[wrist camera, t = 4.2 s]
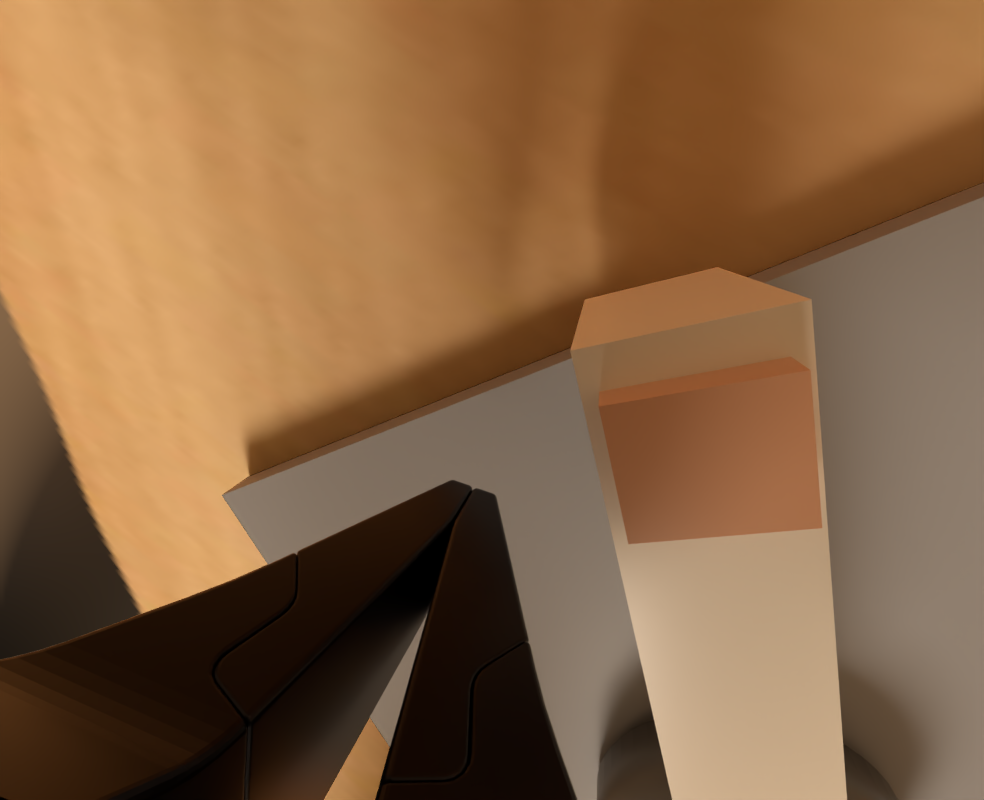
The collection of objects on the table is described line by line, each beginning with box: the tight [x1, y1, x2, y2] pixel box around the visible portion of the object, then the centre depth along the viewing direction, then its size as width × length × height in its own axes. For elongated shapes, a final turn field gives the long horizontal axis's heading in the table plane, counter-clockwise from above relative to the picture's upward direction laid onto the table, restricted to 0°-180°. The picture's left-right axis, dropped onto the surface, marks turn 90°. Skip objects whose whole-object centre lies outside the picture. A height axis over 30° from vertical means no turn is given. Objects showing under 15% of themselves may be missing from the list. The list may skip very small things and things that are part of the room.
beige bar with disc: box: [570, 267, 898, 800], centre depth 8 cm, size 17×7×4 cm, turn 17°
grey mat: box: [222, 183, 984, 800], centre depth 11 cm, size 23×23×1 cm
